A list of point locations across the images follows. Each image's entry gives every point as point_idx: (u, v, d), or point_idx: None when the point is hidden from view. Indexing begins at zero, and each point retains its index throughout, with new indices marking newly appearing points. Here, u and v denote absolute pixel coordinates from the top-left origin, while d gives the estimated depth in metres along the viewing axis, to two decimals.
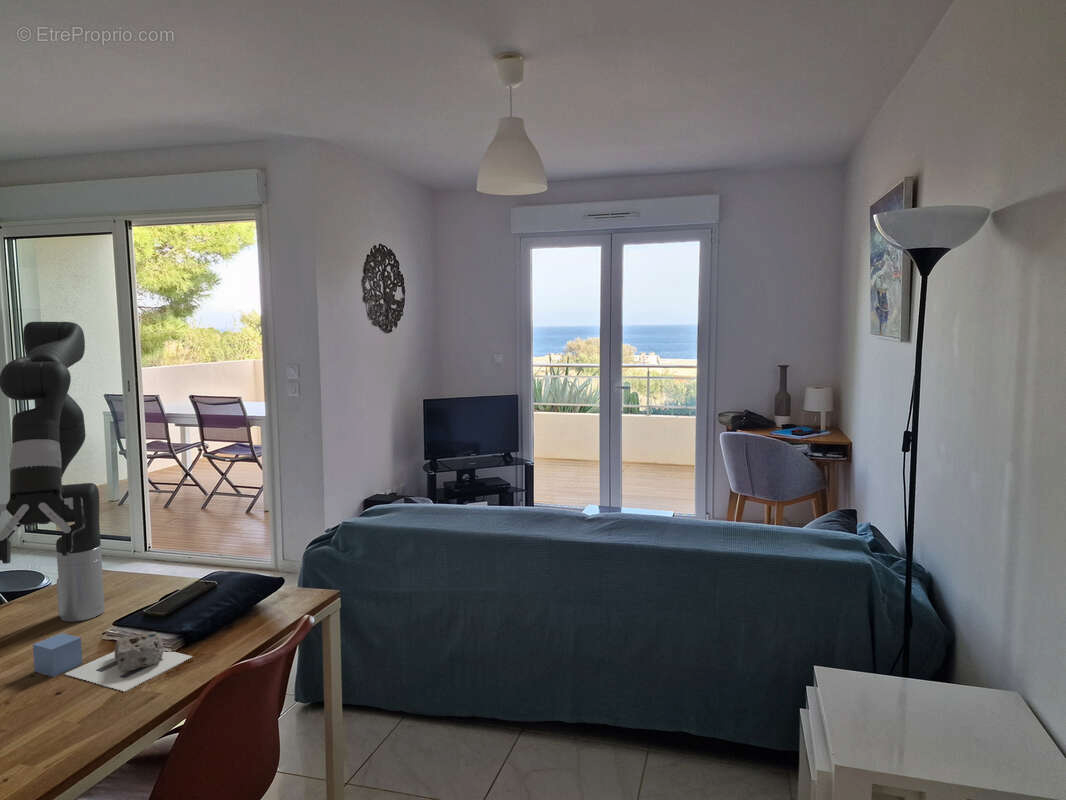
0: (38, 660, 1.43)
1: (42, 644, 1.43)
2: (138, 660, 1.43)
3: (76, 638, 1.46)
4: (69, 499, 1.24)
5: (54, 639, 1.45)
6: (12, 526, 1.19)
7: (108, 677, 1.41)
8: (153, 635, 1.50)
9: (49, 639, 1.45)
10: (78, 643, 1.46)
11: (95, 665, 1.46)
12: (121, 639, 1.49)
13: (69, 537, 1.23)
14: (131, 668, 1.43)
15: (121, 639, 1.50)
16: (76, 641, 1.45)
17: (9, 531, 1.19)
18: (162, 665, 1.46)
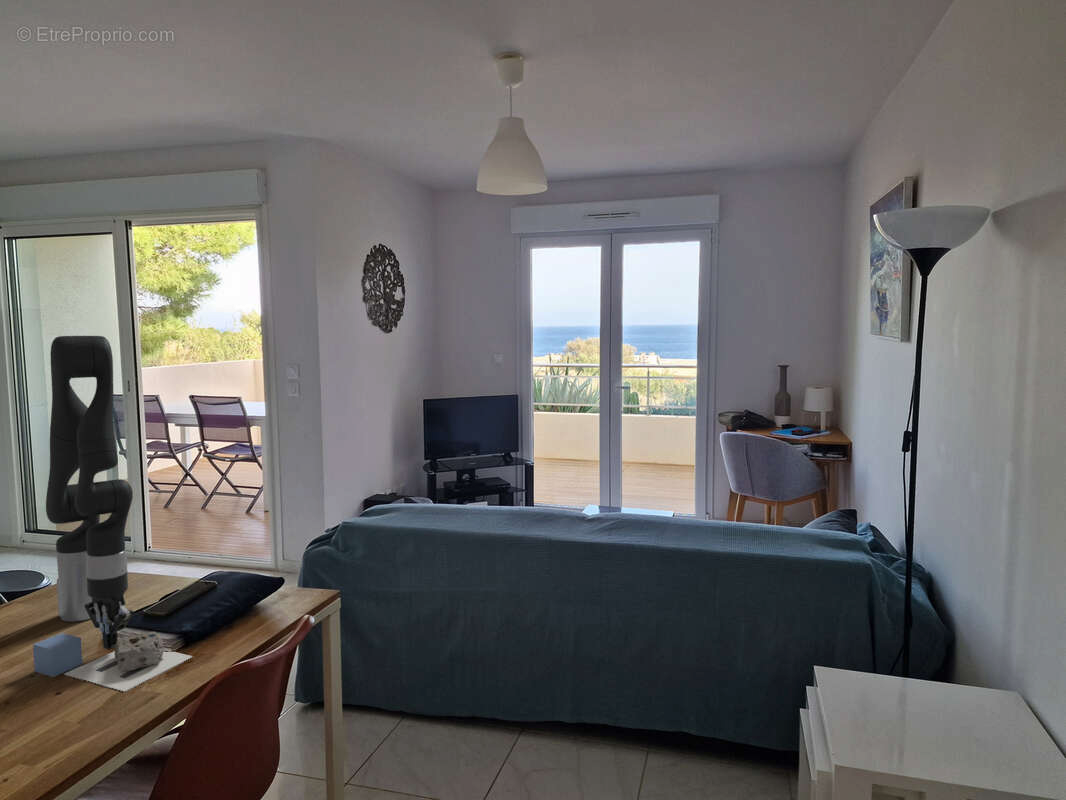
0: (38, 660, 1.43)
1: (42, 644, 1.43)
2: (138, 660, 1.43)
3: (76, 638, 1.46)
4: (121, 610, 1.48)
5: (54, 639, 1.45)
6: (99, 621, 1.49)
7: (108, 677, 1.41)
8: (153, 635, 1.50)
9: (50, 639, 1.45)
10: (78, 643, 1.46)
11: (95, 665, 1.46)
12: (121, 639, 1.49)
13: (110, 636, 1.50)
14: (131, 668, 1.43)
15: (121, 639, 1.50)
16: (76, 641, 1.45)
17: (102, 624, 1.50)
18: (162, 665, 1.46)
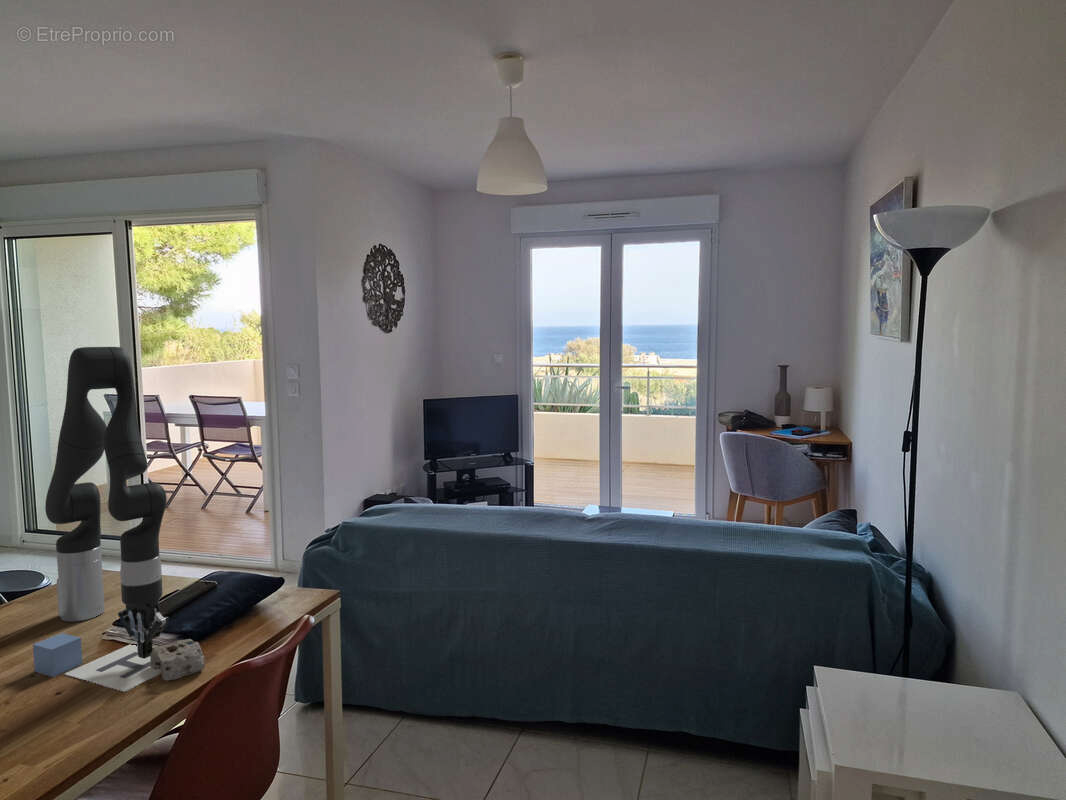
0: (38, 660, 1.43)
1: (42, 644, 1.43)
2: (183, 669, 1.40)
3: (76, 638, 1.46)
4: (157, 617, 1.44)
5: (54, 639, 1.45)
6: (134, 629, 1.45)
7: (108, 677, 1.41)
8: (191, 642, 1.47)
9: (50, 639, 1.45)
10: (78, 643, 1.46)
11: (95, 665, 1.46)
12: (157, 648, 1.45)
13: (145, 645, 1.45)
14: (176, 677, 1.39)
15: (157, 648, 1.45)
16: (76, 641, 1.45)
17: (137, 632, 1.45)
18: None
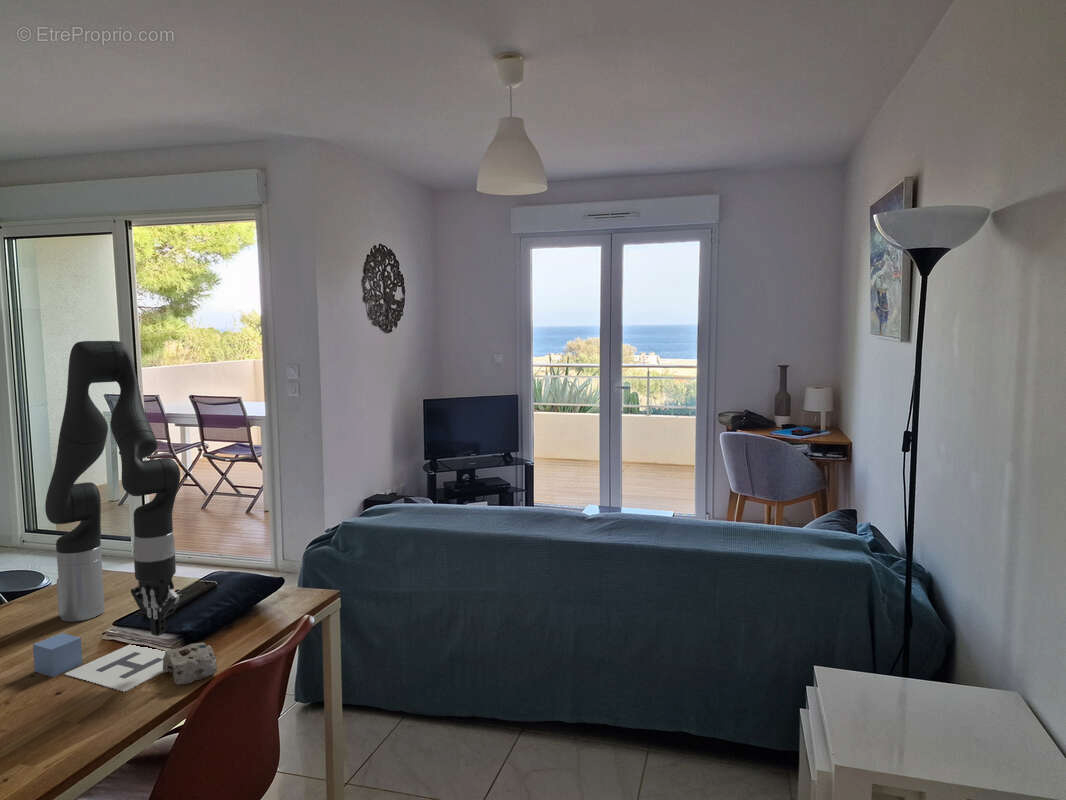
0: (38, 660, 1.43)
1: (42, 644, 1.43)
2: (195, 673, 1.39)
3: (76, 638, 1.46)
4: (170, 594, 1.42)
5: (54, 639, 1.45)
6: (147, 606, 1.43)
7: (108, 677, 1.41)
8: (204, 646, 1.45)
9: (50, 639, 1.45)
10: (78, 643, 1.46)
11: (95, 665, 1.46)
12: (170, 651, 1.44)
13: (158, 622, 1.44)
14: (188, 681, 1.38)
15: (170, 651, 1.44)
16: (76, 641, 1.45)
17: (150, 609, 1.44)
18: (162, 665, 1.46)
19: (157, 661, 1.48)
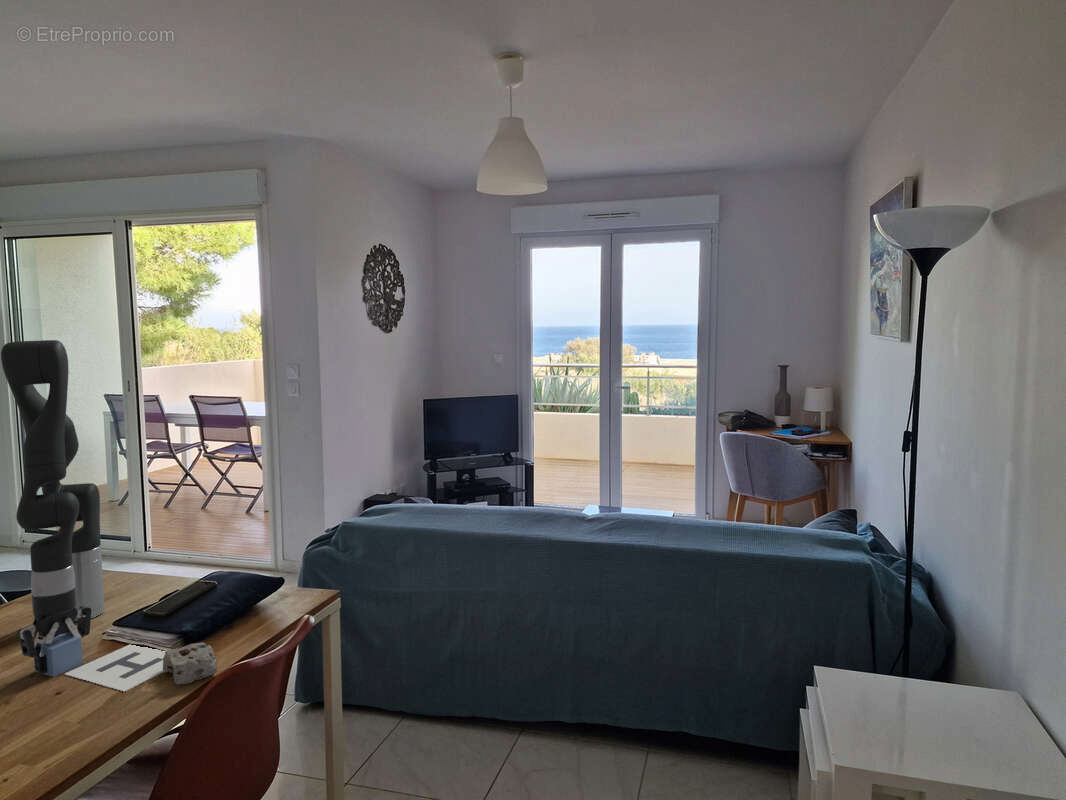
0: None
1: None
2: (195, 673, 1.39)
3: (76, 638, 1.46)
4: (81, 610, 1.49)
5: (54, 639, 1.45)
6: (50, 642, 1.42)
7: (108, 677, 1.41)
8: (204, 646, 1.45)
9: None
10: (78, 643, 1.46)
11: (95, 665, 1.46)
12: (170, 651, 1.44)
13: None
14: (188, 681, 1.38)
15: (170, 651, 1.44)
16: (76, 641, 1.45)
17: (46, 647, 1.42)
18: (162, 665, 1.46)
19: (157, 661, 1.48)
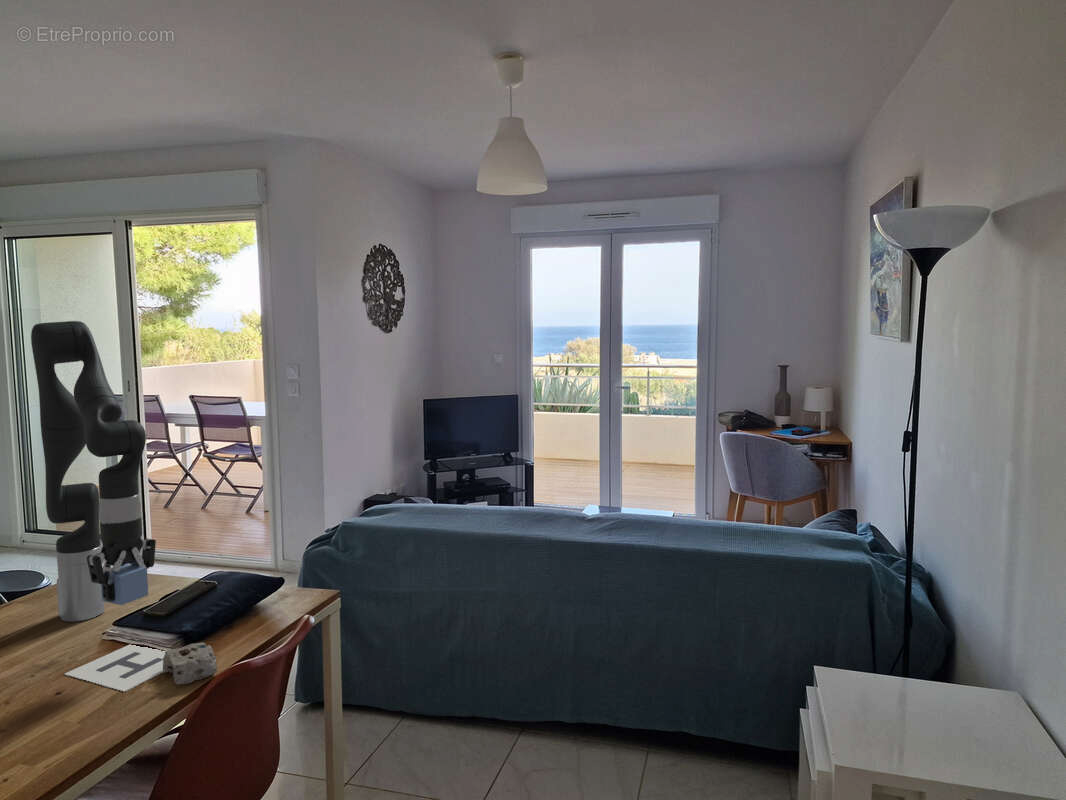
0: None
1: None
2: (195, 673, 1.39)
3: (142, 568, 1.45)
4: (145, 541, 1.48)
5: (121, 569, 1.45)
6: (118, 570, 1.41)
7: (108, 677, 1.41)
8: (204, 646, 1.45)
9: None
10: (144, 573, 1.45)
11: (95, 665, 1.46)
12: (170, 651, 1.44)
13: None
14: (188, 681, 1.38)
15: (170, 651, 1.44)
16: (142, 571, 1.45)
17: None
18: (162, 665, 1.46)
19: (157, 661, 1.48)
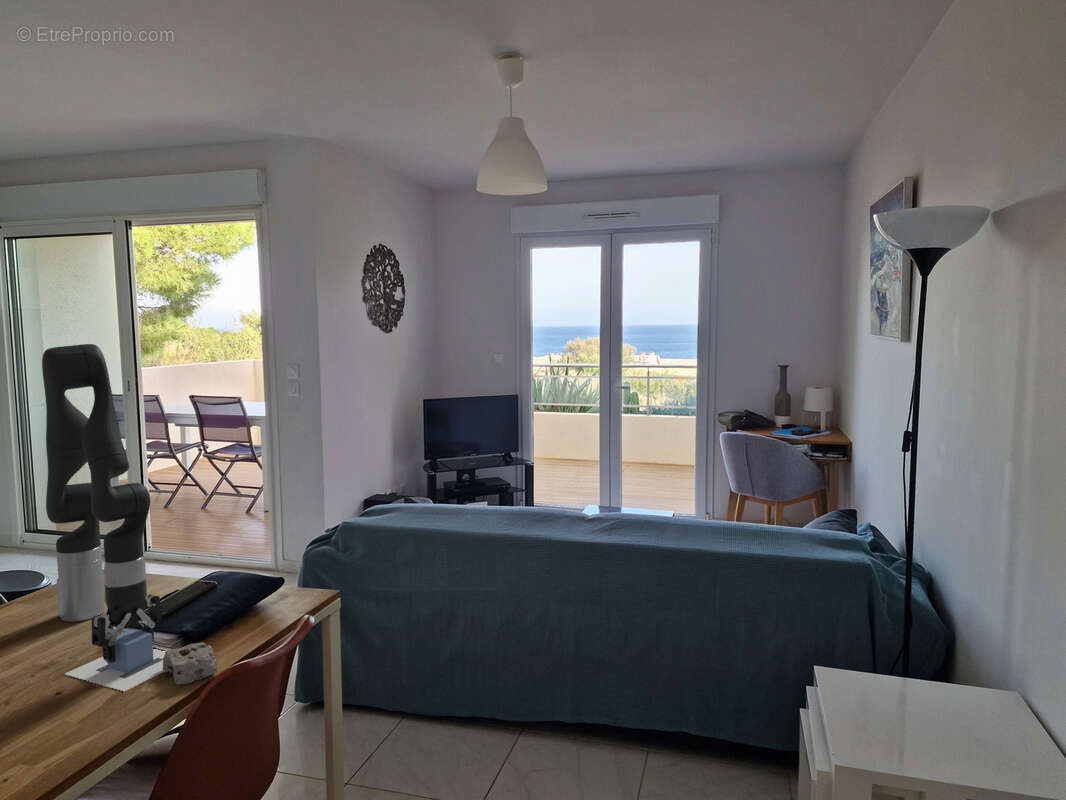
0: None
1: (115, 640, 1.44)
2: (195, 673, 1.39)
3: (148, 634, 1.47)
4: (150, 599, 1.49)
5: (126, 635, 1.46)
6: (120, 633, 1.42)
7: (108, 677, 1.41)
8: (204, 646, 1.45)
9: (121, 635, 1.46)
10: (150, 639, 1.47)
11: (95, 665, 1.46)
12: (170, 651, 1.44)
13: (152, 630, 1.50)
14: (188, 681, 1.38)
15: (170, 651, 1.44)
16: (148, 637, 1.47)
17: (116, 637, 1.42)
18: (162, 665, 1.46)
19: (157, 661, 1.48)
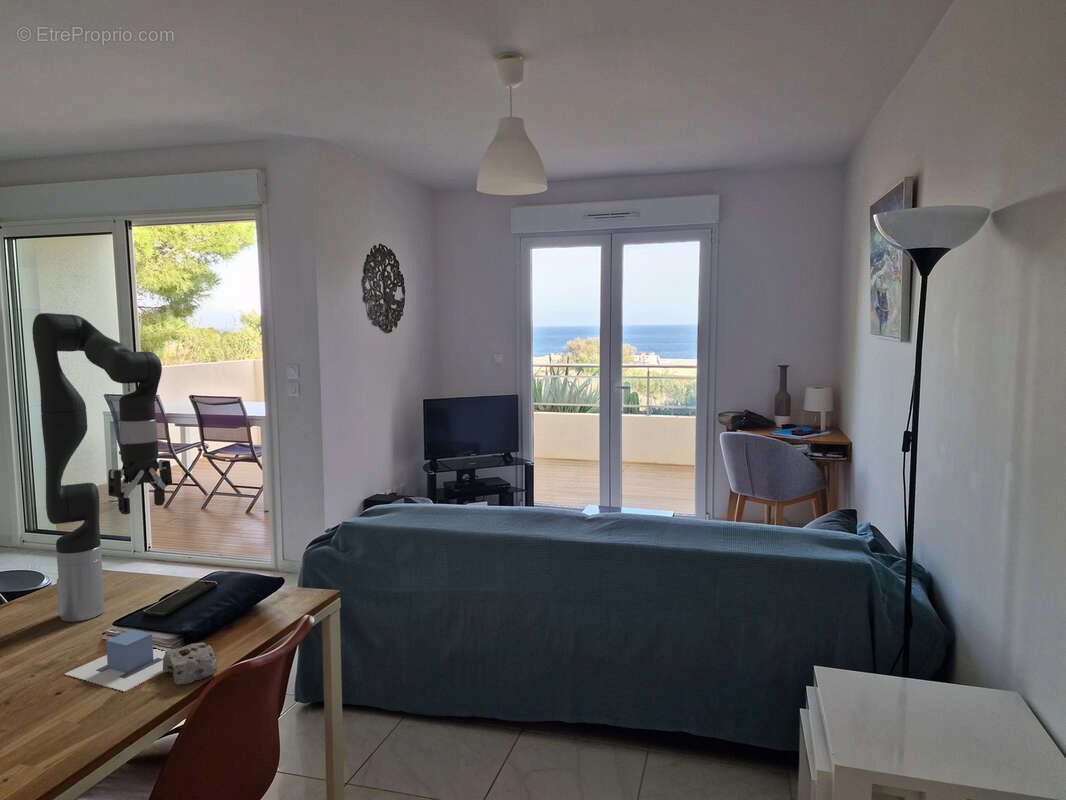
0: (111, 656, 1.44)
1: (115, 640, 1.44)
2: (195, 673, 1.39)
3: (148, 634, 1.47)
4: (161, 463, 1.62)
5: (126, 635, 1.46)
6: (134, 487, 1.54)
7: (108, 677, 1.41)
8: (204, 646, 1.45)
9: (121, 635, 1.46)
10: (150, 639, 1.47)
11: (95, 665, 1.46)
12: (170, 651, 1.44)
13: (163, 492, 1.62)
14: (188, 681, 1.38)
15: (170, 651, 1.44)
16: (148, 637, 1.47)
17: (130, 490, 1.54)
18: (162, 665, 1.46)
19: (157, 661, 1.48)
